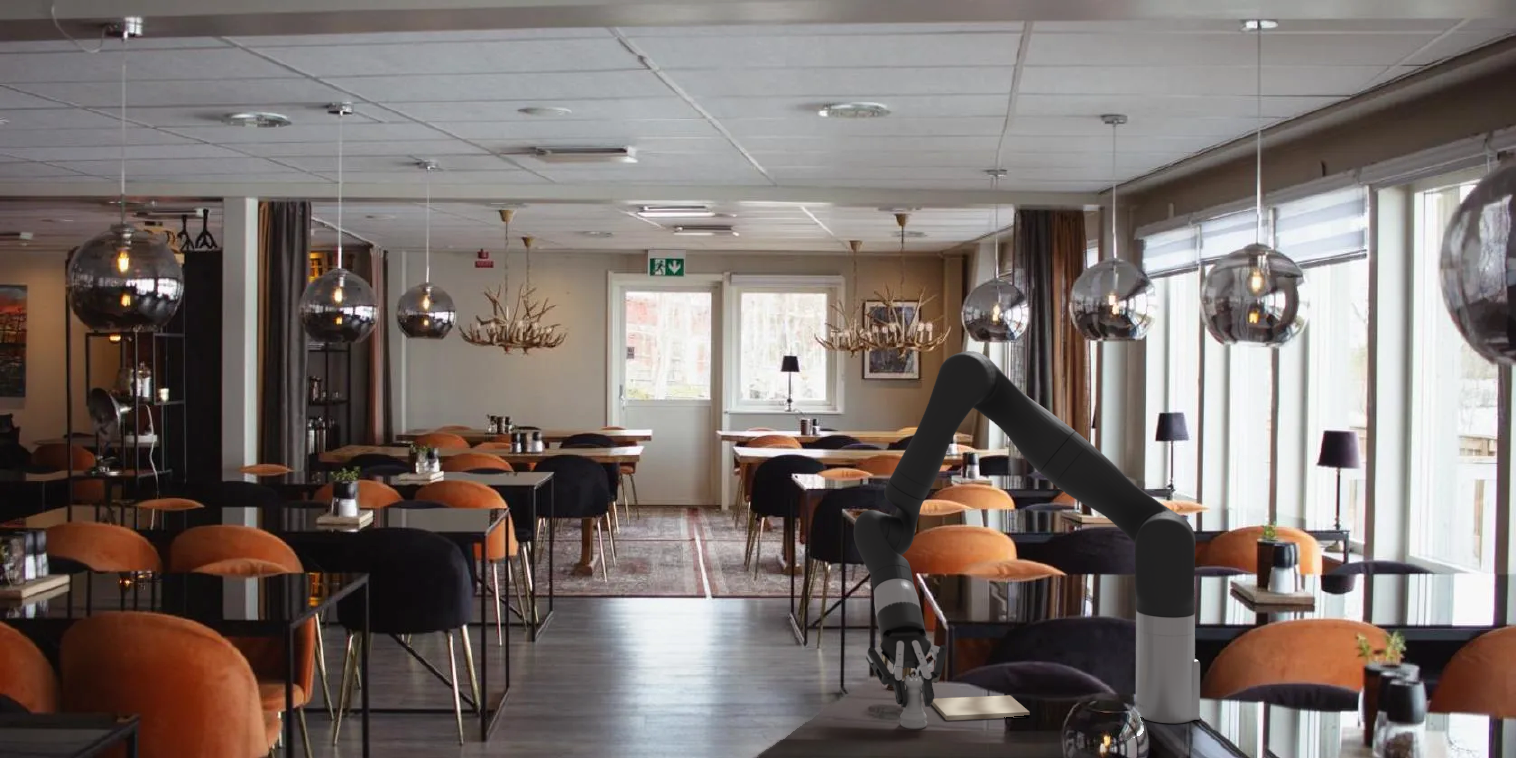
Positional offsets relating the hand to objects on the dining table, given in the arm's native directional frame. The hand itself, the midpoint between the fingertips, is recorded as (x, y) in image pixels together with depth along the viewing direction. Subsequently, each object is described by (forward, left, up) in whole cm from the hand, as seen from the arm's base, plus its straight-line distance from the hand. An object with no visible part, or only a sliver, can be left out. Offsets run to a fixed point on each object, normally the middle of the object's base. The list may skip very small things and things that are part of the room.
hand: (916, 704), depth 207 cm
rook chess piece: (0, -2, -4) cm, 5 cm away
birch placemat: (-13, -9, -4) cm, 16 cm away
